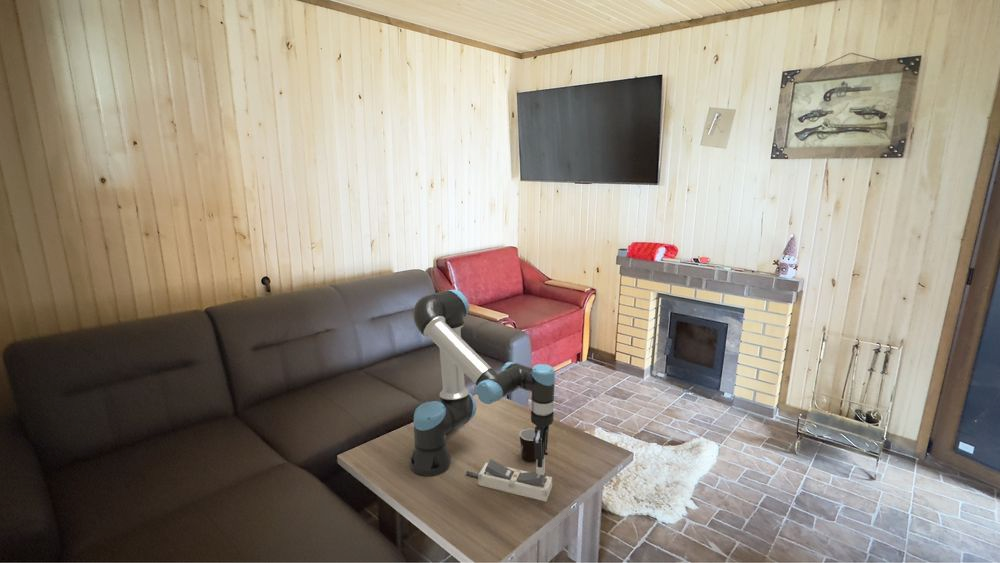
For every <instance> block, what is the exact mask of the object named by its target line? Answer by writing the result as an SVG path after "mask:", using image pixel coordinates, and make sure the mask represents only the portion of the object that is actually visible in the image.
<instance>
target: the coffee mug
mask: <svg viewBox="0 0 1000 563" xmlns="http://www.w3.org/2000/svg"><path fill="white" fill-rule="evenodd" d="M534 437H535V428H524V429H522V430H521V431H520V432H519V444H520V452H521V459H522V460H523V461H524V462H526V463H535V462H536V459H535V457H534V456H535V452H534V441H533V438H534Z"/></svg>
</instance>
